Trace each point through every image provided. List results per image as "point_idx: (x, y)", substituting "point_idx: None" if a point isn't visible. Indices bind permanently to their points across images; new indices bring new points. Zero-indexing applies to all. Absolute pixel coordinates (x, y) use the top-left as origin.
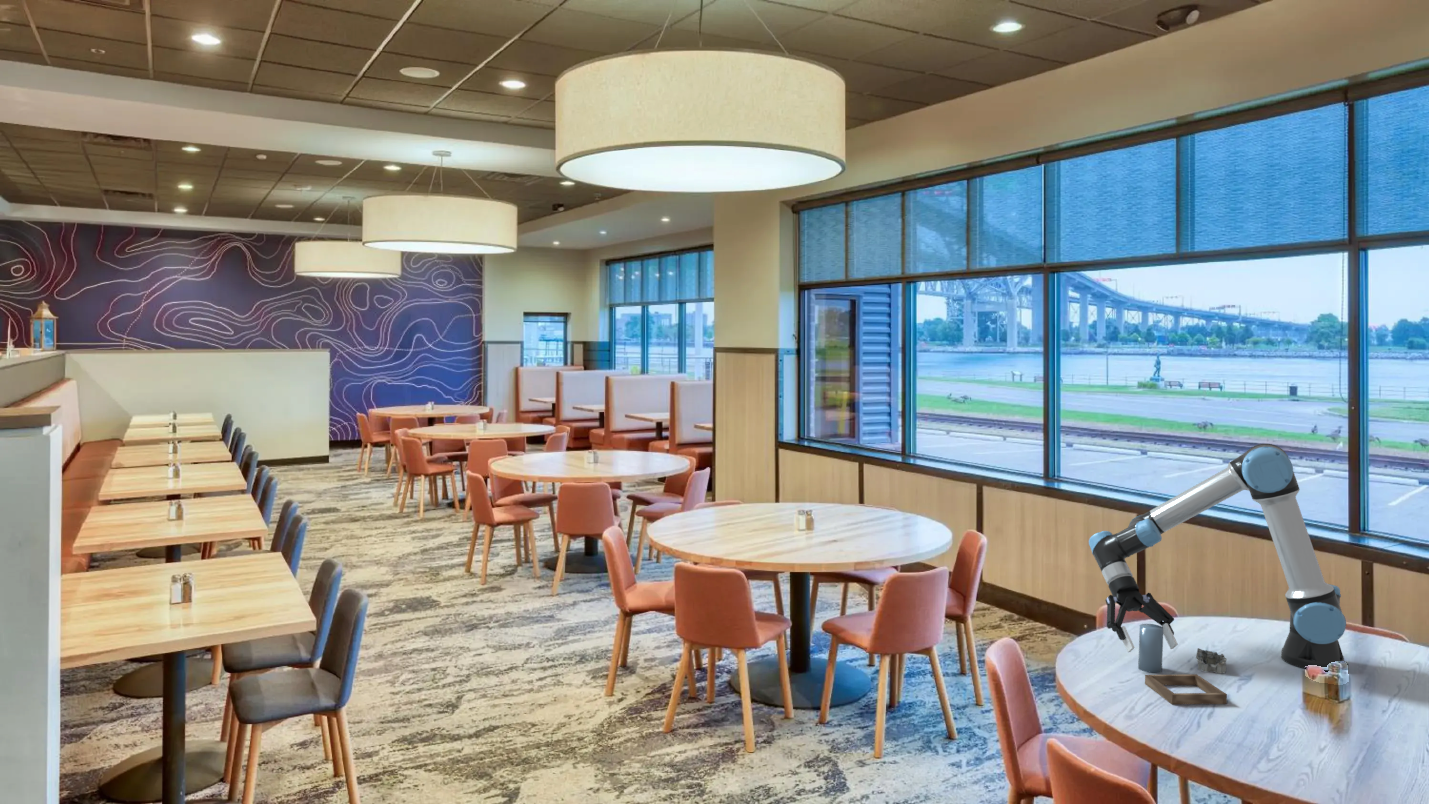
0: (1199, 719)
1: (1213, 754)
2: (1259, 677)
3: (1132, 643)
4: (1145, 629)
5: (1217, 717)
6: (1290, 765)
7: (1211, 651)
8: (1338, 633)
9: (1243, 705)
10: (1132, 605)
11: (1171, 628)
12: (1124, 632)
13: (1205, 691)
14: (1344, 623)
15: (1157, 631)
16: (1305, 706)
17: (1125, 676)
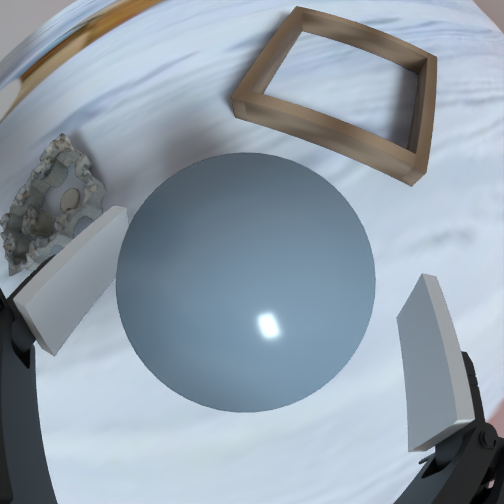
0: (415, 26)
1: (457, 2)
2: (54, 117)
3: (431, 293)
4: (369, 256)
5: (374, 13)
6: None
7: (3, 244)
8: None
9: (265, 13)
10: None
11: (27, 280)
12: (459, 377)
13: (277, 68)
14: None
15: (285, 163)
16: (157, 3)
17: (422, 272)
